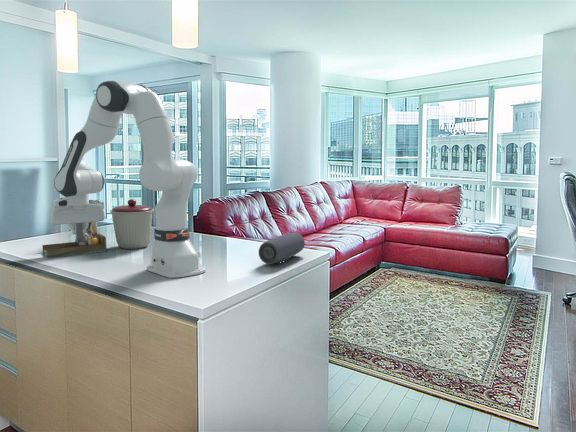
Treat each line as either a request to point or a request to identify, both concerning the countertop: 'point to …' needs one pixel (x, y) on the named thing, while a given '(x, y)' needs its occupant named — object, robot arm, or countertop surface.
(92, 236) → the coffee box
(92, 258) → the countertop surface
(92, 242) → the ball
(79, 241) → the striker
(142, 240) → the canister
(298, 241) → the bluetooth speaker
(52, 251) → the brown wooden tray
